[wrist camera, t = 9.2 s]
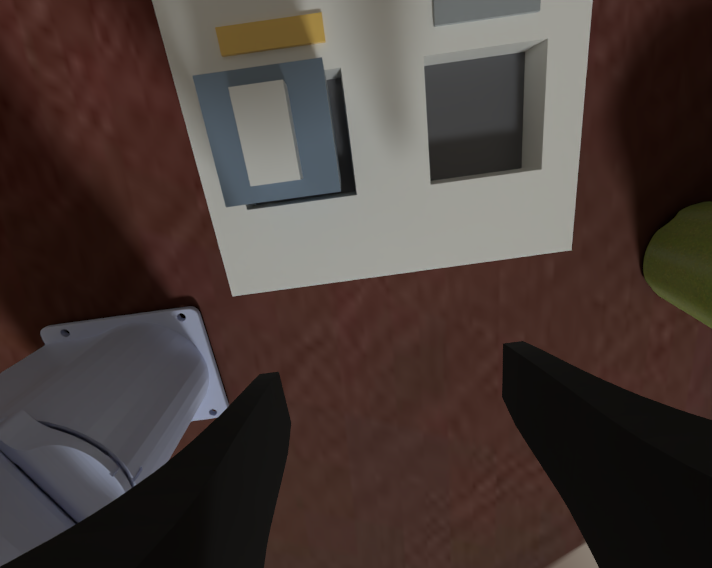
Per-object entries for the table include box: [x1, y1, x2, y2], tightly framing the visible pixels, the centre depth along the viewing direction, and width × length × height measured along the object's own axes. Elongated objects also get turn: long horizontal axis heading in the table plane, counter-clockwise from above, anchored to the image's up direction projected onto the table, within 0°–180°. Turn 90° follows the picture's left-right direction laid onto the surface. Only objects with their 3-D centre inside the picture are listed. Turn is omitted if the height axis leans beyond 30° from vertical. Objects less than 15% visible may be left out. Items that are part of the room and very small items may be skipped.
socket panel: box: [152, 0, 593, 296], centre depth 17 cm, size 18×14×3 cm
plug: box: [193, 57, 341, 207], centre depth 14 cm, size 4×4×8 cm
